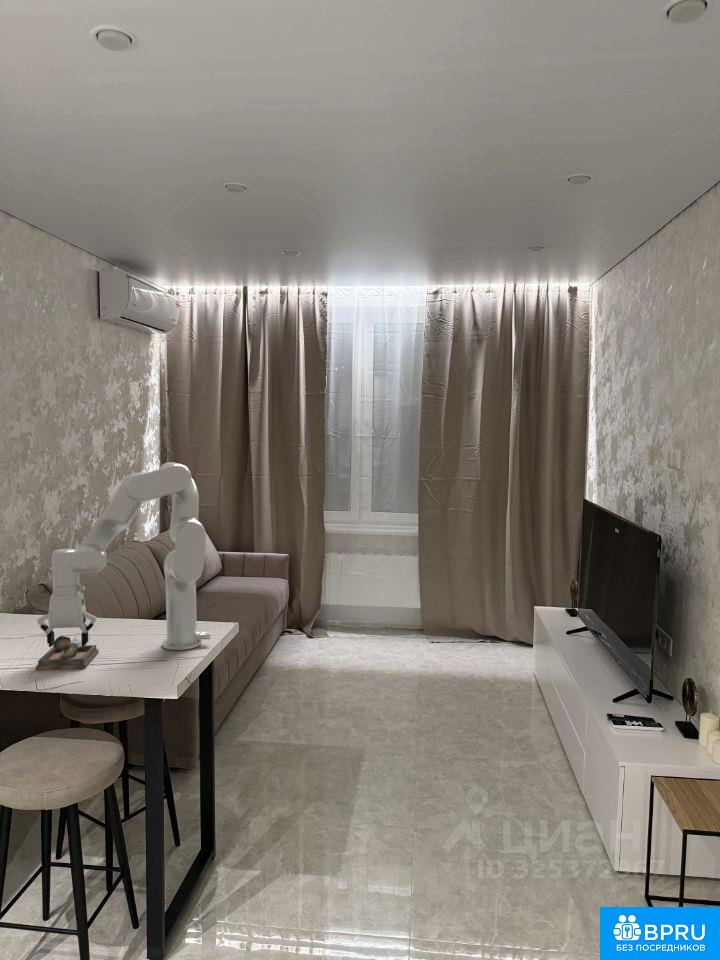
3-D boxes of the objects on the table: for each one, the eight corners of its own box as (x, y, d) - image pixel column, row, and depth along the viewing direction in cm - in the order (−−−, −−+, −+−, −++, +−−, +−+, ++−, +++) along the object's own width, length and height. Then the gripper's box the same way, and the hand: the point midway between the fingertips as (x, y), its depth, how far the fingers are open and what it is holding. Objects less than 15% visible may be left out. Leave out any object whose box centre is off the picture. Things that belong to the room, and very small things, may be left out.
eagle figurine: (51, 652, 219) (46, 650, 211) (66, 631, 222) (61, 629, 213) (73, 665, 219) (68, 663, 211) (87, 644, 222) (83, 642, 214)
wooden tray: (98, 652, 226) (98, 644, 226) (85, 668, 212) (84, 660, 211) (52, 654, 225) (52, 645, 225) (36, 670, 210) (35, 661, 210)
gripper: (99, 586, 221) (100, 640, 222) (41, 587, 219) (42, 642, 221) (92, 592, 214) (93, 648, 215) (32, 593, 212) (34, 649, 213)
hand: (68, 645), depth 218 cm, fingers open, 9 cm apart
